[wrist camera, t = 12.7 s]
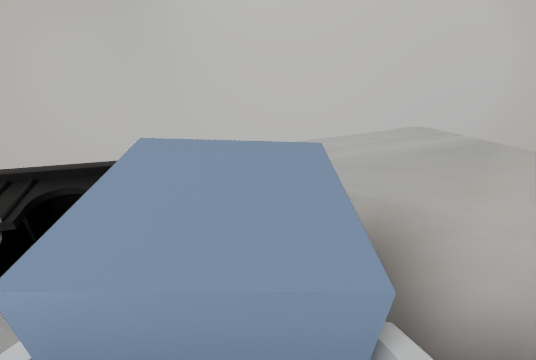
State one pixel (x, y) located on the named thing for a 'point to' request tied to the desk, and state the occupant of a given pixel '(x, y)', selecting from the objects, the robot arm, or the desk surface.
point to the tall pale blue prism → (204, 261)
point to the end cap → (39, 203)
